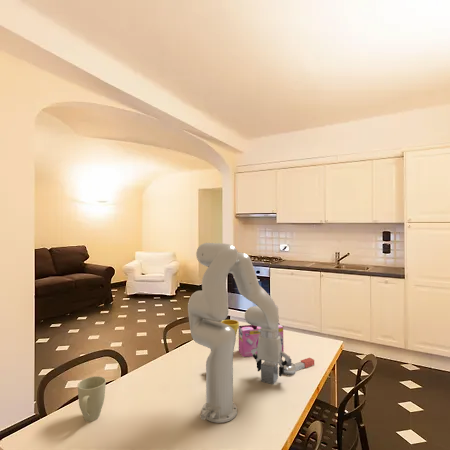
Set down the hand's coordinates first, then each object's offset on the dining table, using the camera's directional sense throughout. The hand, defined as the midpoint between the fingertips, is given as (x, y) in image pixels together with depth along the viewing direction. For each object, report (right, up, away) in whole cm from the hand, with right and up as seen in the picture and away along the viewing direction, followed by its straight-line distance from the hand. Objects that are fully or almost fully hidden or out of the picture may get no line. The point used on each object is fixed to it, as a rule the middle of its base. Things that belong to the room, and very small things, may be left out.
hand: (270, 372), depth 133 cm
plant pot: (-17, -3, +48) cm, 51 cm away
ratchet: (+14, -3, +10) cm, 18 cm away
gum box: (-1, -3, +29) cm, 29 cm away
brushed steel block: (0, -3, 0) cm, 3 cm away
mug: (-65, -3, -27) cm, 71 cm away
